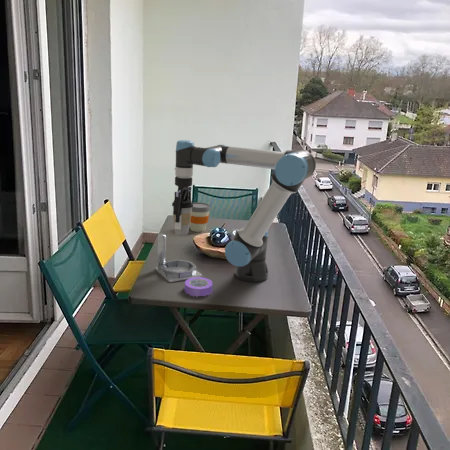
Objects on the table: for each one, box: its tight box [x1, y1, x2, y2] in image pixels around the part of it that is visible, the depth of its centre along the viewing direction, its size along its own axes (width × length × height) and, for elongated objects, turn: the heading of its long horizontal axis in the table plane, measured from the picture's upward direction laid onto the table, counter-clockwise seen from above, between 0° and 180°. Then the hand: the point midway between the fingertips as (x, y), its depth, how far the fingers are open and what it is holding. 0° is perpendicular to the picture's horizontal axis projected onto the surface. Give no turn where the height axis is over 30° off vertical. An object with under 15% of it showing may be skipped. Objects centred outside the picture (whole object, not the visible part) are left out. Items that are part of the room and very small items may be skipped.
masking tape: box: [184, 276, 214, 298], centre depth 192 cm, size 12×12×4 cm
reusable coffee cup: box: [189, 201, 211, 233], centre depth 271 cm, size 13×13×15 cm
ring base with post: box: [155, 233, 203, 283], centre depth 206 cm, size 16×16×17 cm
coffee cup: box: [171, 199, 194, 236], centre depth 205 cm, size 9×9×15 cm
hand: (181, 226), depth 206 cm, fingers closed on coffee cup, 8 cm apart
